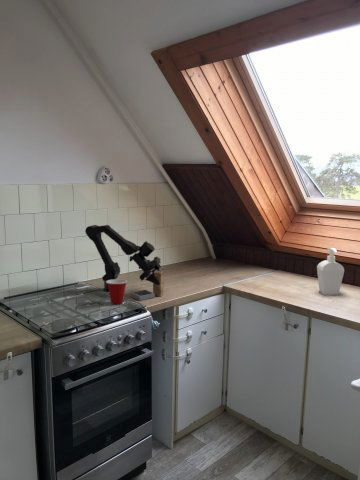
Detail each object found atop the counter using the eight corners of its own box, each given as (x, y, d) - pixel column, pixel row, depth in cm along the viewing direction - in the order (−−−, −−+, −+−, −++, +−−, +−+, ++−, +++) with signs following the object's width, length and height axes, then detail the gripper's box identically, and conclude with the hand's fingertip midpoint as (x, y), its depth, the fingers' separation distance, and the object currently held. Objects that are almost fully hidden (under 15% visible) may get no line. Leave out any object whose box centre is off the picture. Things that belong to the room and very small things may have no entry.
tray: (139, 301, 220) (139, 296, 220) (131, 296, 228) (131, 292, 227) (154, 297, 226) (154, 293, 225) (145, 293, 233) (145, 289, 233)
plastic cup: (128, 299, 223) (128, 277, 221) (126, 306, 212) (126, 283, 210) (107, 299, 222) (107, 277, 220) (105, 306, 212) (104, 283, 210)
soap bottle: (321, 296, 231) (324, 250, 226) (315, 290, 240) (318, 246, 236) (344, 296, 231) (347, 250, 227) (336, 290, 241) (339, 246, 237)
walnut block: (153, 295, 229) (153, 272, 227) (156, 293, 234) (156, 270, 231) (160, 296, 228) (160, 273, 226) (163, 294, 232) (163, 271, 230)
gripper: (144, 256, 219) (164, 278, 218) (158, 249, 237) (176, 270, 235) (131, 269, 223) (150, 291, 221) (145, 262, 240) (163, 282, 239)
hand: (160, 283), depth 229 cm, fingers closed on walnut block, 4 cm apart
